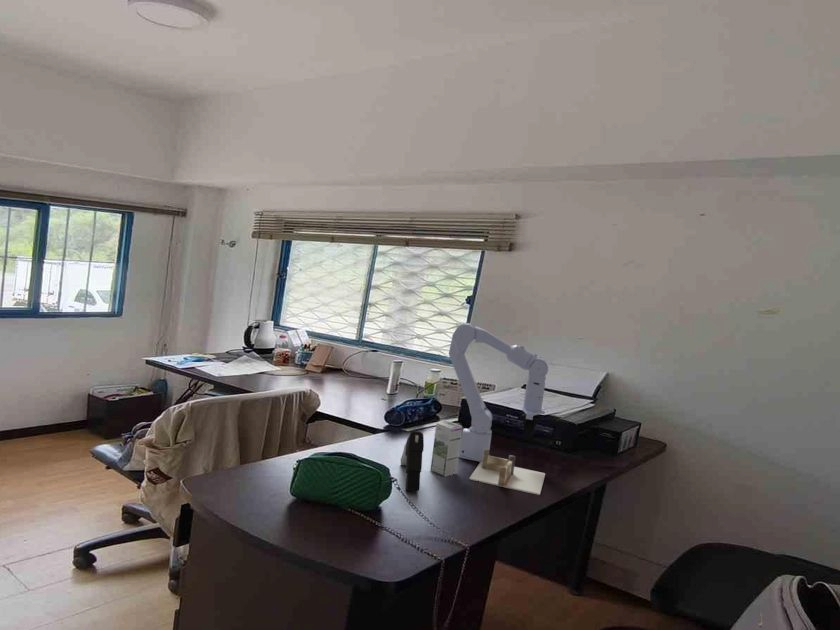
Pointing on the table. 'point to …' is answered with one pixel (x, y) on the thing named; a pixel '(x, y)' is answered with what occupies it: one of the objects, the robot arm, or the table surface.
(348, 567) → the table surface
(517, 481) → the mat
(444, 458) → the syrup box
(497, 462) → the fixed fence section
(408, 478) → the handheld device
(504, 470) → the beige long t-shaped piece
